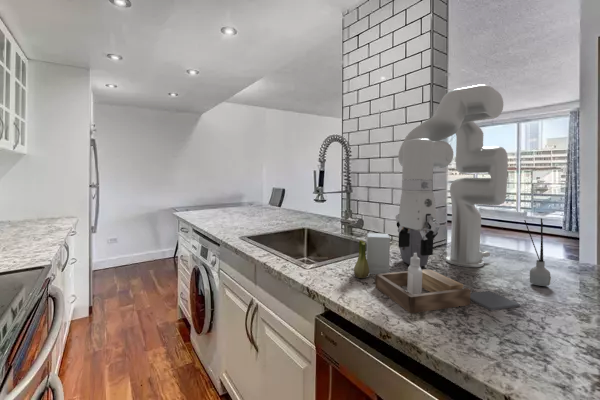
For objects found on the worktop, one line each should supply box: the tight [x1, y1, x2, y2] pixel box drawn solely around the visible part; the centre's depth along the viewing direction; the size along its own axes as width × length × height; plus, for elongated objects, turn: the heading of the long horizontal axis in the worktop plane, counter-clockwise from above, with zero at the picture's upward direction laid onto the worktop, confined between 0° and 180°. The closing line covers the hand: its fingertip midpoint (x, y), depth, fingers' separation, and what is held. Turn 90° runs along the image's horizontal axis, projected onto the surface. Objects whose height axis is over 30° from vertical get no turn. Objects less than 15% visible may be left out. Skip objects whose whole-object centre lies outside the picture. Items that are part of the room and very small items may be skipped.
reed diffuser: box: [523, 218, 552, 287], centre depth 89 cm, size 10×7×20 cm
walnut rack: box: [374, 268, 472, 314], centre depth 82 cm, size 17×17×4 cm
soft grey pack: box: [398, 229, 430, 268], centre depth 110 cm, size 15×8×20 cm, turn 3°
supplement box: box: [366, 232, 391, 275], centre depth 103 cm, size 7×7×13 cm
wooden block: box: [422, 269, 464, 293], centre depth 84 cm, size 4×13×4 cm, turn 14°
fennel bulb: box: [353, 240, 370, 279], centre depth 97 cm, size 6×5×12 cm
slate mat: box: [470, 290, 521, 311], centre depth 78 cm, size 9×9×1 cm
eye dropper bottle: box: [406, 253, 423, 295], centre depth 81 cm, size 4×6×12 cm
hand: (414, 250), depth 80 cm, fingers open, 9 cm apart
